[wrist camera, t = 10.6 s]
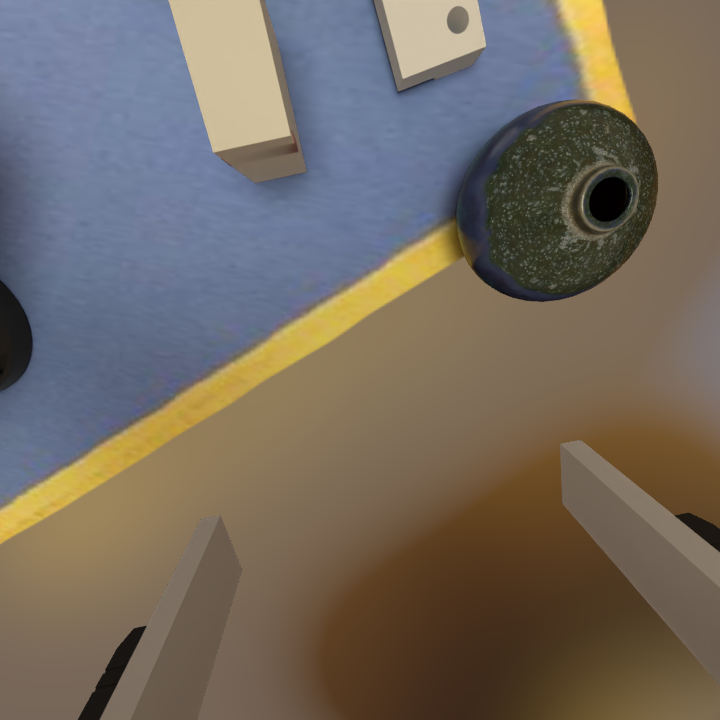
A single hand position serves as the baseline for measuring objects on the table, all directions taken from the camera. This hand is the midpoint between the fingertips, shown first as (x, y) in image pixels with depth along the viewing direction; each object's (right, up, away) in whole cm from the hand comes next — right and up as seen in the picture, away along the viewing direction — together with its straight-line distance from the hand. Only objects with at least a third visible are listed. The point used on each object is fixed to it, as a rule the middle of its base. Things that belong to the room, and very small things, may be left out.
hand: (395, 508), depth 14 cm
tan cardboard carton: (-10, +28, +19) cm, 35 cm away
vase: (+14, +20, +23) cm, 34 cm away
